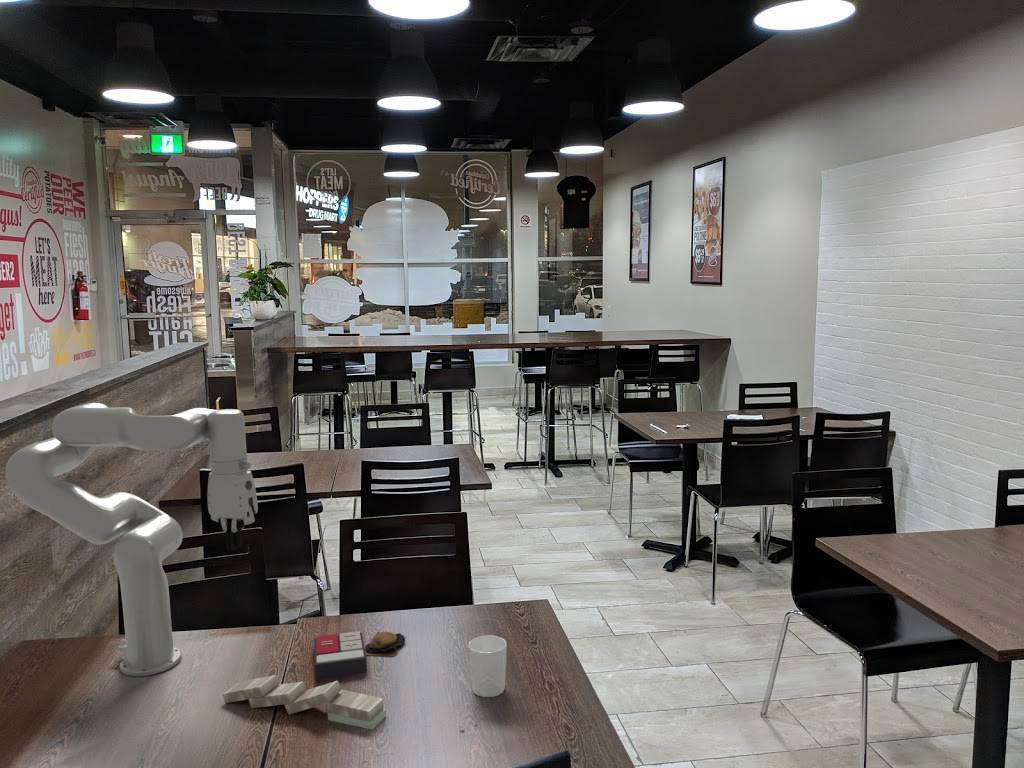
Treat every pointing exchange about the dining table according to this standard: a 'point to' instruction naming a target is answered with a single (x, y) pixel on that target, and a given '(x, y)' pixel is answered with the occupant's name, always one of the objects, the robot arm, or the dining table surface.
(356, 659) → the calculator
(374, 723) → the domino
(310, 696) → the domino
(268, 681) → the domino
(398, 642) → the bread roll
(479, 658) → the white cup
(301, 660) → the dining table surface
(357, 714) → the domino
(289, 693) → the domino
